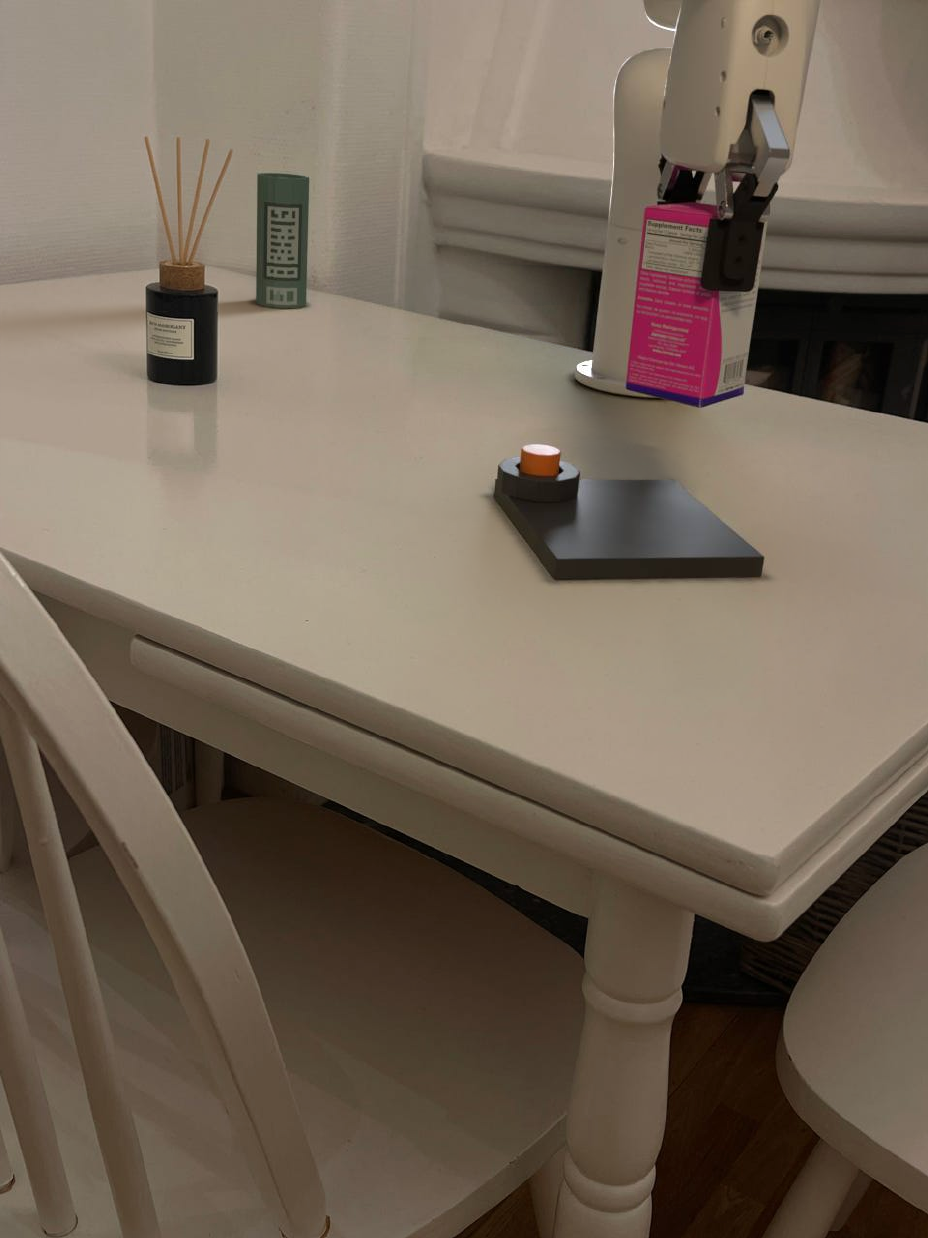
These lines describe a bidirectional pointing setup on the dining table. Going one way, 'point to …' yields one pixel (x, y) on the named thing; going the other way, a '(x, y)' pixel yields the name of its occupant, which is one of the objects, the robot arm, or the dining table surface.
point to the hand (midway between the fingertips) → (698, 276)
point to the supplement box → (686, 314)
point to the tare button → (540, 460)
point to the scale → (620, 527)
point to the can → (282, 240)
